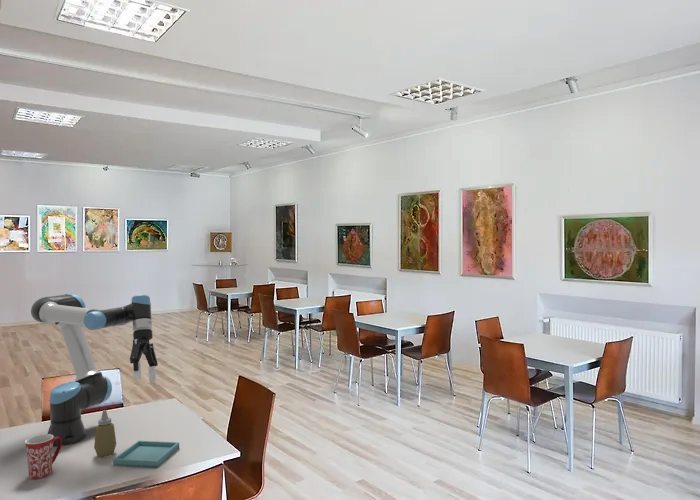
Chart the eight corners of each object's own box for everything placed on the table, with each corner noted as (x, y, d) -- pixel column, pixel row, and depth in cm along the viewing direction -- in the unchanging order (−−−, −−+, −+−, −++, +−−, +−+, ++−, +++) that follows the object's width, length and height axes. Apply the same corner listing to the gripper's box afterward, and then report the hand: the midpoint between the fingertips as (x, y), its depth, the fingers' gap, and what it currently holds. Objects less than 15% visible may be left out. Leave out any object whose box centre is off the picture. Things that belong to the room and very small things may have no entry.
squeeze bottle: (91, 455, 202) (90, 410, 202) (111, 448, 208) (110, 405, 208) (99, 460, 197) (97, 415, 196) (119, 454, 203) (118, 410, 202)
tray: (112, 465, 192) (112, 459, 192) (138, 446, 210) (138, 440, 210) (157, 468, 190) (156, 461, 190) (179, 448, 208) (179, 442, 208)
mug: (34, 482, 179) (33, 445, 179) (20, 477, 184) (19, 440, 183) (69, 468, 190) (68, 433, 190) (55, 463, 195) (54, 429, 195)
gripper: (137, 323, 202) (140, 376, 195) (163, 333, 226) (166, 381, 219) (119, 327, 202) (121, 380, 195) (147, 337, 226) (150, 384, 219)
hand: (145, 380), depth 207 cm, fingers open, 13 cm apart
